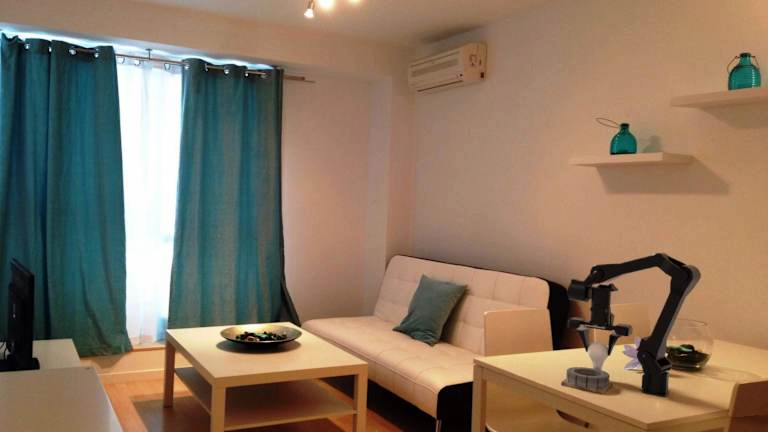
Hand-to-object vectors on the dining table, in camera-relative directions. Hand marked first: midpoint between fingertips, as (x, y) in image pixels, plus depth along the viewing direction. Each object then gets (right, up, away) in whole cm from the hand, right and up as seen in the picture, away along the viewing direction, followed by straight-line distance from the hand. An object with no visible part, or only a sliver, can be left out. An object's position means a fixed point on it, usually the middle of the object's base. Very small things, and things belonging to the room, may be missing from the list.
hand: (598, 353), depth 207 cm
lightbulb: (0, -7, 0) cm, 7 cm away
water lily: (+19, -9, +14) cm, 25 cm away
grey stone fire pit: (-6, -8, -8) cm, 13 cm away
